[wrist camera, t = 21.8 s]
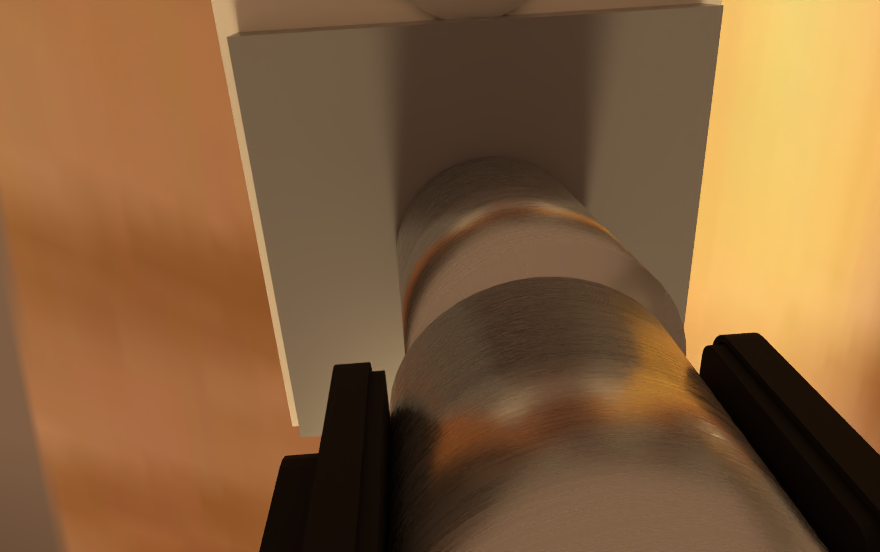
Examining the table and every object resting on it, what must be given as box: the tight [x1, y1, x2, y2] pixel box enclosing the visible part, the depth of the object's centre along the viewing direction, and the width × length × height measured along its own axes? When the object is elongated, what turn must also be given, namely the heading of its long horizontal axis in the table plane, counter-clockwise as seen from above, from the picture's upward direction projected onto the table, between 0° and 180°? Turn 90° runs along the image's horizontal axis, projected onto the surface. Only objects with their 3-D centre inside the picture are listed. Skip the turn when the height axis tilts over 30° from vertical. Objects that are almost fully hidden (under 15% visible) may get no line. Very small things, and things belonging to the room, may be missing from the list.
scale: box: [211, 0, 723, 437], centre depth 18 cm, size 12×16×4 cm
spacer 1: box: [396, 156, 686, 356], centre depth 14 cm, size 5×5×6 cm
